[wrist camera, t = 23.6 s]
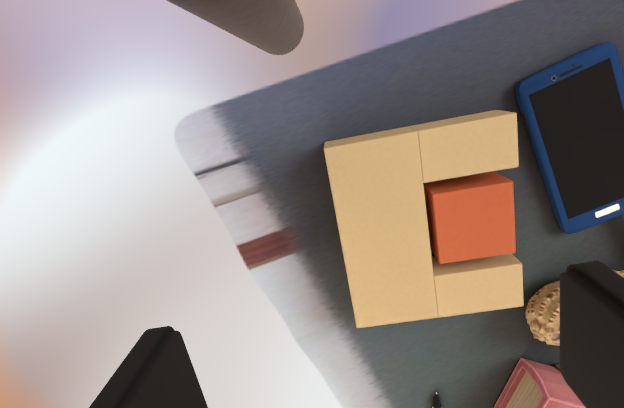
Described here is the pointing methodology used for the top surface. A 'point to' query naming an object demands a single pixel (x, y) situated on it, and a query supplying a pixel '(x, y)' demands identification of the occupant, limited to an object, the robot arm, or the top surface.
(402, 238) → the tan u-shaped block
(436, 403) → the pen
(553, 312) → the seashell
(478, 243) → the foam block
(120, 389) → the robot arm
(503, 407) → the book
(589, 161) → the cell phone
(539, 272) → the top surface
